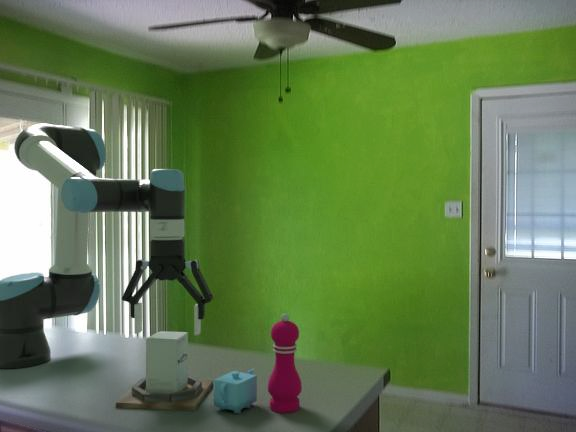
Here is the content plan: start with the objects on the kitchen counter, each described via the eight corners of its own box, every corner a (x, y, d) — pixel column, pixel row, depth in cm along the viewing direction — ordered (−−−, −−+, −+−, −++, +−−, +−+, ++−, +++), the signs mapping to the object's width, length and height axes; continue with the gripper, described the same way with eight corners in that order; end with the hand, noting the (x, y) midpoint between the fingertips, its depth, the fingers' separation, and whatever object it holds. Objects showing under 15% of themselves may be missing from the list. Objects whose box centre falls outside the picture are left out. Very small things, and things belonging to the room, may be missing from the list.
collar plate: (115, 407, 117) (115, 395, 117) (144, 381, 134) (143, 371, 134) (194, 410, 115) (194, 398, 115) (213, 384, 132) (213, 373, 132)
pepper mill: (266, 402, 121) (267, 310, 120) (299, 401, 121) (300, 310, 121) (268, 414, 113) (268, 317, 113) (303, 413, 114) (304, 316, 113)
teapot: (242, 395, 125) (242, 362, 125) (265, 400, 122) (265, 366, 122) (208, 412, 115) (209, 376, 114) (232, 418, 111) (232, 381, 111)
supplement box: (176, 397, 120) (176, 339, 120) (144, 394, 122) (144, 337, 121) (188, 386, 128) (189, 331, 127) (158, 384, 129) (158, 330, 129)
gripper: (106, 239, 121) (107, 335, 122) (218, 239, 119) (218, 338, 119) (120, 237, 129) (120, 328, 129) (225, 237, 126) (226, 330, 127)
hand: (167, 333), depth 124 cm, fingers open, 13 cm apart
